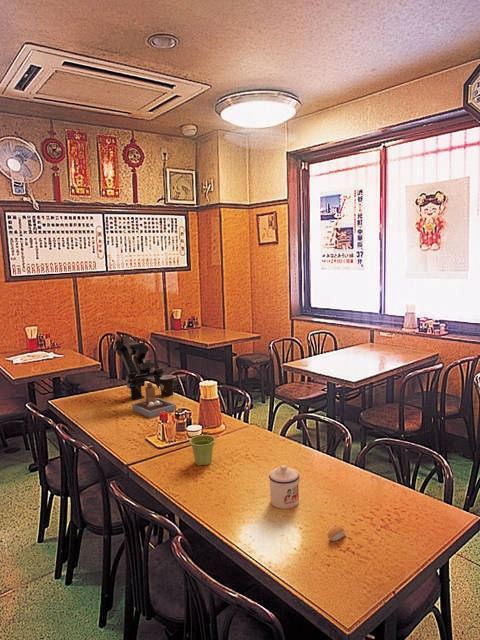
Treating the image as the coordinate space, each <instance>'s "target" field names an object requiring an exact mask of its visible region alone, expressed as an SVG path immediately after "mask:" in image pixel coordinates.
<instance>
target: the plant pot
mask: <svg viewBox="0 0 480 640" xmlns="http://www.w3.org/2000/svg"><path fill="white" fill-rule="evenodd" d="M215 442H216V438H215V437H214V436H213V435H208V434H201V435H195V436H193V437H191V438H190V439H189V443H190V446H191V448H192V453H193V459H194V463H195V464H196V465H198V466H207V465H210V464H211V463H212V461H213V451H214V444H215Z"/></svg>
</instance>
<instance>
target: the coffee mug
mask: <svg viewBox="0 0 480 640" xmlns="http://www.w3.org/2000/svg"><path fill="white" fill-rule="evenodd" d="M174 385H175V386H174ZM177 387H178V383H177V381H176V380H175V375H173V374H166V375H164V374H163V375H162V377H161V378H160V379H159V389H160V393H161V397H172V396H174V390H175V389H176V388H177Z"/></svg>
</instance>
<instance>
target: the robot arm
mask: <svg viewBox="0 0 480 640" xmlns="http://www.w3.org/2000/svg"><path fill="white" fill-rule="evenodd" d="M113 350H114V351H115V353H116V354H117V355H118V356H120V357H121V359H122V362H123V363H124V367H125V368H126V371H127V376H126V378H125V382H126V383H125V385H126V388H128V389H129V390H130V396H128V398H129V399H131V400H133V401H135V400H140V399H143V398H145V396H144V395H142V391H143V390H142V387H145V385H146V383H145V382H146V378H149V377H150V378H151V377H153V381H154V383H155V386H156V388H157V389H160V384H159V379H160V378H161V377H162V376H164V373H165V371H164V369H163V368H162V367H160V368H155V369H154V370H153V372H151V371H152V369H153V368H154V367H155V366H156V364H155V361H154V359H151V360H149V361H147V360H146V358H147V356H148V353H149V352H150V351H149V350H150V348H149V346H148V345H147V344H144V342H136V341H134V340H133V339H131V338H130V335H123V336H120V337H119V339H117V340H116V341H114V344H113ZM132 356H133V358H132Z"/></svg>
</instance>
